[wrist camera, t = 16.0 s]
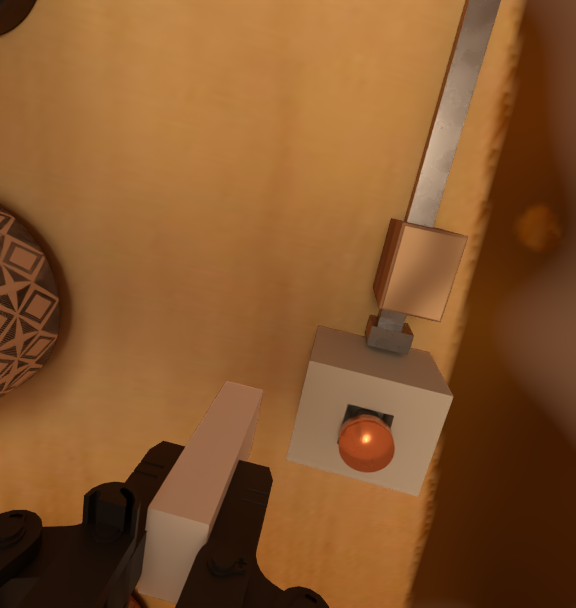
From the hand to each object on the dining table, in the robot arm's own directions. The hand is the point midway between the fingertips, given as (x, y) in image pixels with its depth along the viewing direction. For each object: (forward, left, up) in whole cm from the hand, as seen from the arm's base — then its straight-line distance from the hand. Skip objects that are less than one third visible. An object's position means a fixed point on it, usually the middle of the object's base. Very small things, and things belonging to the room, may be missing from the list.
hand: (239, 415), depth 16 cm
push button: (+8, -9, -21) cm, 25 cm away
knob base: (+8, -9, -28) cm, 30 cm away
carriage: (+9, +5, -28) cm, 29 cm away
